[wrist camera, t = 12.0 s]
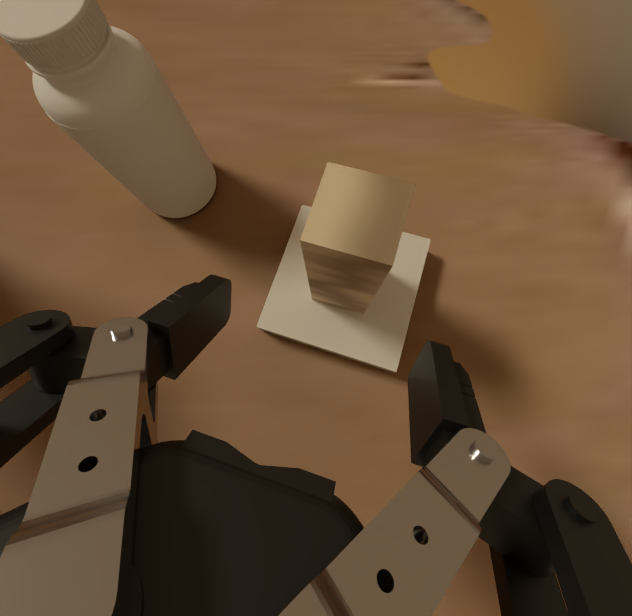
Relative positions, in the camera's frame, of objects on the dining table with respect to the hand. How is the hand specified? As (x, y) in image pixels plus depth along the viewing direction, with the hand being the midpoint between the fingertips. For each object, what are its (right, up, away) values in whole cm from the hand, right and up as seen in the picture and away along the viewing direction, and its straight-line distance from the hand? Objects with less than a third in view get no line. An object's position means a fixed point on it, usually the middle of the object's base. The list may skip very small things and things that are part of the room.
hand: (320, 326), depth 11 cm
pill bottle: (-14, +13, +18) cm, 27 cm away
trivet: (+2, +3, +15) cm, 15 cm away
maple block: (+2, +3, +13) cm, 14 cm away
